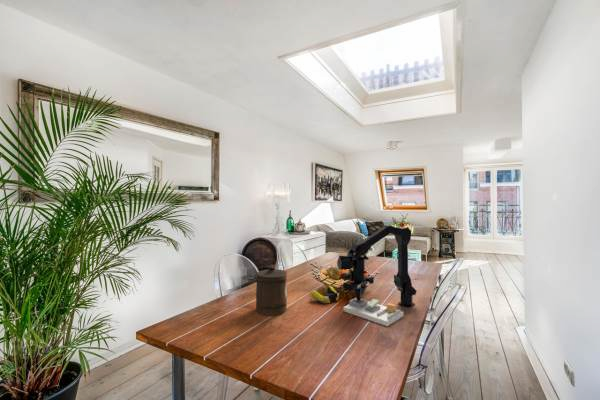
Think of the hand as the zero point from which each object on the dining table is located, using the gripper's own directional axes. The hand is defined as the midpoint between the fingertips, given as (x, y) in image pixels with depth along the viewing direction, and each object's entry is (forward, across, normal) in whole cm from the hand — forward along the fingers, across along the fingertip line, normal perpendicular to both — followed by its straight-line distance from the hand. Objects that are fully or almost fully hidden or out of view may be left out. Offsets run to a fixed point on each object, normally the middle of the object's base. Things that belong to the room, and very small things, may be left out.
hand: (358, 300), depth 141 cm
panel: (+4, 0, +8) cm, 9 cm away
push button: (+2, 0, 0) cm, 2 cm away
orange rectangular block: (+2, -3, +16) cm, 16 cm away
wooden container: (+4, +32, -29) cm, 43 cm away
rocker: (-1, 0, +8) cm, 8 cm away
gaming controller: (+5, +2, -19) cm, 20 cm away
